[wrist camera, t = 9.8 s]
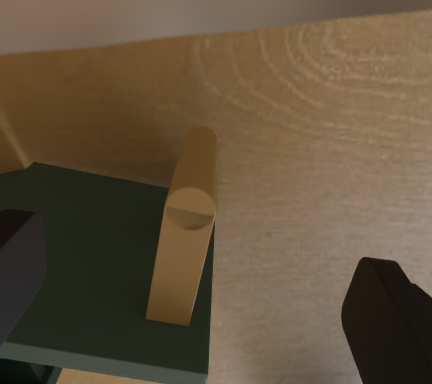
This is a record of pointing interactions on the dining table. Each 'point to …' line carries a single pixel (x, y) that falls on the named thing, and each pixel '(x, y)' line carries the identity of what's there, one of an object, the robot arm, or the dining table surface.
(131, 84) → the dining table surface
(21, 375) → the cupboard
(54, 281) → the cupboard door
